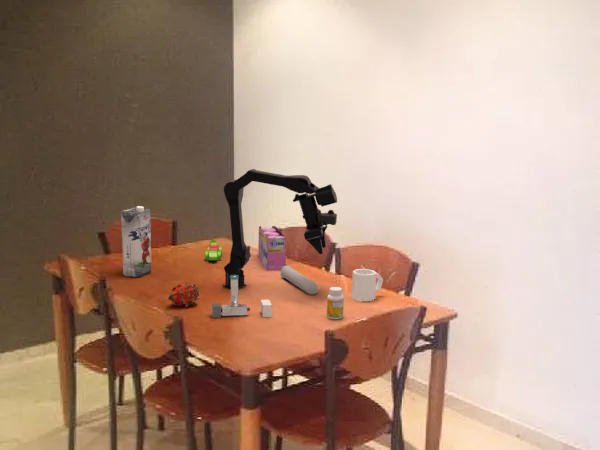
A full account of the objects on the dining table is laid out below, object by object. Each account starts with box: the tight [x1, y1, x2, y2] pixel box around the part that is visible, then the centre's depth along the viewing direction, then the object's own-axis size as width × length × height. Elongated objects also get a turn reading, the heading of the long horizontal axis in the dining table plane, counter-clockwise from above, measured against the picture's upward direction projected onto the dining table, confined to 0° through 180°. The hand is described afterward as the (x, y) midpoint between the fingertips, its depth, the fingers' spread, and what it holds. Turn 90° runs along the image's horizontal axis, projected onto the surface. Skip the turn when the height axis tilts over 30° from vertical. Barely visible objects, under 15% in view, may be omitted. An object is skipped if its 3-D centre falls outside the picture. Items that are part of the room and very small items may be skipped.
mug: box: [351, 268, 384, 302], centre depth 266 cm, size 12×9×10 cm
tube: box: [280, 265, 319, 296], centre depth 279 cm, size 5×5×25 cm
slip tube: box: [221, 275, 248, 317], centre depth 243 cm, size 8×3×13 cm, turn 100°
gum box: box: [257, 225, 287, 272], centre depth 310 cm, size 24×8×14 cm, turn 13°
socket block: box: [260, 299, 273, 318], centre depth 246 cm, size 3×6×4 cm, turn 10°
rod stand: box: [211, 302, 251, 319], centre depth 244 cm, size 12×4×4 cm, turn 100°
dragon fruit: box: [168, 281, 200, 308], centre depth 253 cm, size 8×8×12 cm
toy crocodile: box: [204, 239, 223, 261], centre depth 317 cm, size 20×7×6 cm, turn 2°
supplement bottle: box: [326, 286, 345, 320], centre depth 244 cm, size 5×5×10 cm
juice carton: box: [120, 205, 152, 278], centre depth 288 cm, size 9×10×27 cm
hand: (322, 250), depth 269 cm, fingers open, 9 cm apart
